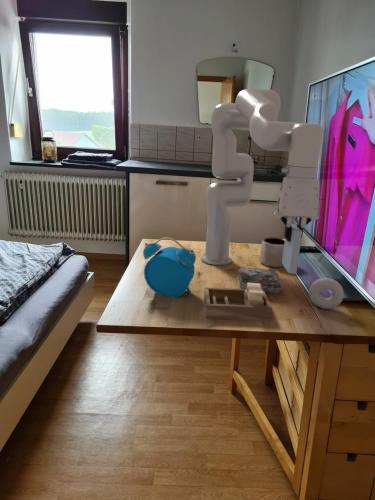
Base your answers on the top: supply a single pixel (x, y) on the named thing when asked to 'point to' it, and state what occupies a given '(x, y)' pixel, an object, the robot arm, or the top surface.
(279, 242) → the planter
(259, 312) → the rack
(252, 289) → the offcut top
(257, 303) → the block
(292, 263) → the light blue flat box
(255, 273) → the rock
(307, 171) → the robot arm
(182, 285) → the alarm clock
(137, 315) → the top surface
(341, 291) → the tape roll
